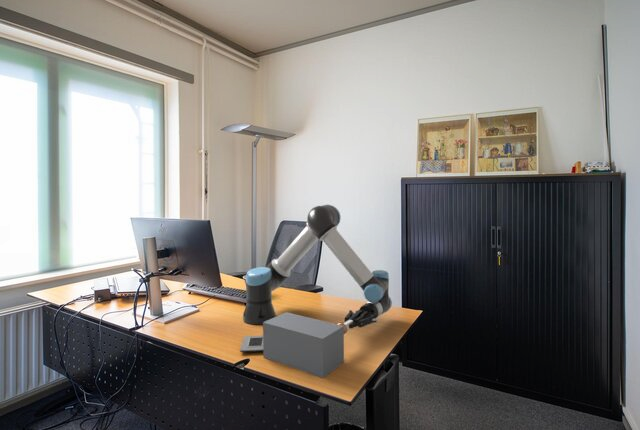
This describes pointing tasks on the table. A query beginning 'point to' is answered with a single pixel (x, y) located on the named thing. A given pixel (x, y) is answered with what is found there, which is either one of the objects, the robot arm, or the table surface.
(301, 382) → the table surface
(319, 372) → the housing
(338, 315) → the table surface
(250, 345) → the electrical outlet
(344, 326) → the plug terracotta
